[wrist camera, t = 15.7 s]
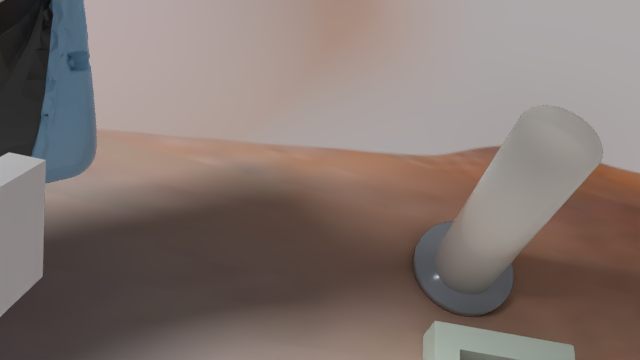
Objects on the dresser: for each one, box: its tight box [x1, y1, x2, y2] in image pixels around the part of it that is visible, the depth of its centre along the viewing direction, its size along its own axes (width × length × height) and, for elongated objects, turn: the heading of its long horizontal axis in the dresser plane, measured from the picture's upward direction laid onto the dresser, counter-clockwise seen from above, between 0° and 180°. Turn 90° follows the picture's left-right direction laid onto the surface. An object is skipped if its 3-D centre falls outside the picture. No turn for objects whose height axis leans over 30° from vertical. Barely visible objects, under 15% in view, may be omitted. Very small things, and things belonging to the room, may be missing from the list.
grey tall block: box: [434, 105, 603, 294], centre depth 39 cm, size 5×5×16 cm
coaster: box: [413, 222, 514, 317], centre depth 46 cm, size 8×8×1 cm
